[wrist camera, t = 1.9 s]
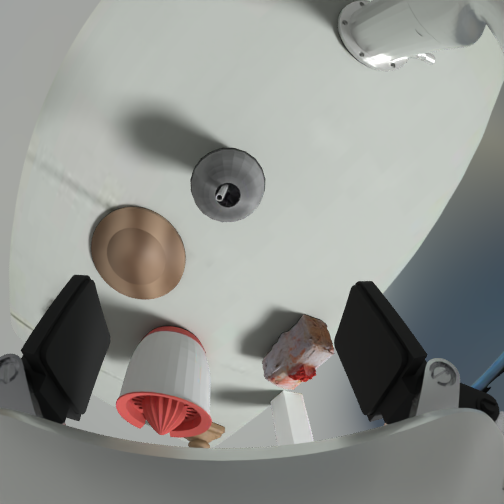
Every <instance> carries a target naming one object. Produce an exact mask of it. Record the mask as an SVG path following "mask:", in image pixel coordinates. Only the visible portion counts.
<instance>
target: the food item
mask: <svg viewBox="0 0 504 504" xmlns="http://www.w3.org/2000/svg"><path fill="white" fill-rule="evenodd" d="M332 344H333V343H332V340H331V337H330V334H329V331H328V330H327V325H326V323H324V322H323V321H322V320H319V319H315V318H313V317H310V316H307V315H303V316H302V317H301V318H300V320H299V321H298V323H297V324H295V326H294V327H293V328H292V329H291V330H290V331H288V332H284V333H282V334H281V335H280V337H279V338H278V342H277V343H276V344H274V345H273V347H272V350H271V351H270V352H269V353H268V354H267V355H266V357H264V360H263V361H262V364H263V370H264V377H265V379H267V380H268V381H271V383H273V384H275V385H276V386H278V387H281V388H284V389H292V390H293V389H295V387H296V386H298V385H299V384H300V383H301V382H306V381H308V379H312V377H313V376H315V375H316V373H315V372H316V369H317V368H318V367H319V366H320V365H321V364H322V363H324V362H325V361H326V360H327V359H328V358H329V357H331V356H332V355H333V354H334V348H333V345H332Z"/></svg>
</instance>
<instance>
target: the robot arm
mask: <svg viewBox="0 0 504 504" xmlns="http://www.w3.org/2000/svg"><path fill="white" fill-rule="evenodd" d="M486 24H487V26H488V27H489V29H490V30H491V32H492V33H493V35H494V37H495V38H496V39H497V41H498V43H499V45H500V47H501V49H502V51H503V53H504V0H372V1H365V0H362V1H355V2H352V3H350V4H348V5H347V6H346V7H344V8H343V10H342V11H341V12H340V15H339V17H338V31H339V34H340V37H341V39H342V41H343V43H344V45H345V46H346V48H347V49H348V51H349V52H350V53H351V54H352V55H353V56H354V57H355V58H356V59H357V60H359V61H360V62H361V63H363V64H365V65H366V66H368V67H370V68H373V69H375V70H379V71H393V70H396V69H399V68H401V67H403V66H404V65H405V64H406V63H407V61H408V59H409V58H411V57H413V58H415V59H417V58H419V59H421V60H423V61H425V62H427V63H429V64H433V63H434V61H435V57H434V55H433V54H431V53H429V52H435V51H441V50H448V49H455V48H464V47H468V46H471V45H473V44H474V43H476V42H477V41H478V40H479V38H480V37H481V35H482V34H483V31H484V29H485V26H486ZM359 54H360V55H359ZM109 344H110V335H109V332H108V329H107V325H106V322H105V319H104V316H103V312H102V309H101V305H100V301H99V298H98V294H97V290H96V286H95V283H94V281H93V280H91V279H90V277H89V276H87V275H74V276H73V277H72V278H71V279H70V280H69V282H68V283H67V284H66V286H65V287H64V288H63V289H62V291H61V292H60V293H59V295H58V296H57V297H56V299H55V300H54V301H53V303H52V304H51V306H50V307H49V308H48V310H47V311H46V313H45V314H44V316H43V317H42V318H41V320H40V321H39V323H38V324H37V326H36V327H35V329H34V330H33V332H32V333H31V335H30V336H29V338H28V340H27V341H26V343H25V344H24V346H23V348H22V349H21V351H22V353H23V357H22V358H20V357H19V356H18V355H15V354H6V355H3V356H1V357H0V504H504V412H503V411H501V412H500V413H499V407H498V404H497V402H496V400H495V399H494V398H493V397H492V396H490V395H489V394H487V393H484V392H482V391H479V390H477V389H474V388H472V387H469V386H467V385H465V384H462V383H460V376H459V373H458V370H457V369H456V368H455V366H454V365H453V364H451V363H450V362H449V361H447V360H445V359H441V358H434V359H432V360H430V361H429V362H428V363H427V362H426V361H425V358H426V357H427V353H426V352H425V351H424V349H423V348H422V346H421V345H420V343H419V342H418V341H417V339H416V338H415V336H414V335H413V334H412V332H411V331H410V330H409V328H408V327H407V325H406V324H405V323H404V321H403V320H402V319H401V317H400V316H399V315H398V313H397V312H396V311H395V309H394V308H393V307H392V305H391V304H390V303H389V302H388V300H387V299H386V298H385V297H384V295H383V294H382V293H381V291H380V290H379V289H378V288H377V286H376V285H375V284H374V283H373V282H372V281H359V282H357V283H356V284H355V285H354V286H352V288H351V290H350V294H349V297H348V300H347V303H346V307H345V310H344V313H343V316H342V319H341V322H340V325H339V328H338V331H337V334H336V336H335V340H334V345H335V348H336V351H337V353H338V355H339V358H340V360H341V362H342V365H343V367H344V369H345V372H346V374H347V376H348V379H349V381H350V384H351V386H352V388H353V390H354V393H355V396H356V398H357V400H358V403H359V405H360V408H361V410H362V412H363V414H364V415H367V416H368V419H369V421H370V422H371V421H374V420H378V419H382V418H383V419H384V421H385V424H384V426H382V427H378V428H374V429H370V430H366V431H363V432H358V433H354V434H350V435H345V436H341V437H336V438H331V439H325V440H319V441H313V442H307V443H299V444H291V445H282V446H271V447H258V448H235V449H234V448H229V449H228V448H226V449H225V448H222V449H221V448H191V447H177V446H166V445H157V444H149V443H142V442H136V441H129V440H124V439H119V438H113V437H109V436H104V435H100V434H96V433H91V432H88V431H84V430H80V429H76V428H72V427H69V426H66V424H65V420H66V417H67V418H70V419H73V420H77V421H79V420H80V417H81V414H84V413H85V412H86V409H87V406H88V403H89V400H90V396H91V393H92V390H93V388H94V385H95V382H96V379H97V376H98V373H99V371H100V368H101V365H102V362H103V360H104V357H105V355H106V352H107V349H108V347H109Z"/></svg>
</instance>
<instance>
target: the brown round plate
mask: <svg viewBox="0 0 504 504" xmlns="http://www.w3.org/2000/svg"><path fill="white" fill-rule="evenodd" d="M91 252H92V258H93V262H94V264H95V267H96V269H97V271H98V273H99V274H100V275H101V277H102V278H103V279H104V281H105V282H106V283H107V284H108V285H109V286H111V287H112V288H113V289H115V290H116V291H118V292H119V293H121V294H123V295H126V296H128V297H132V298H136V299H154V298H158V297H161V296H163V295H165V294H167V293H169V292H170V291H171V290H173V289H174V288H175V287H176V285H177V284H178V283H179V281H180V279H181V277H182V275H183V272H184V268H185V259H186V256H185V249H184V245H183V242H182V240H181V237H180V236H179V234H178V232H177V231H176V229H175V228H174V227H173V226H172V224H171V223H170V222H169V221H167V220H166V219H165V218H164V217H162V216H161V215H159V214H158V213H156V212H154V211H152V210H149V209H146V208H141V207H124V208H120V209H117V210H115V211H113V212H111V213H110V214H108V215H107V216H106V217H105V218H104V219H102V221H101V222H100V223H99V224H98V226H97V227H96V229H95V231H94V233H93V237H92V242H91Z"/></svg>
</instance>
